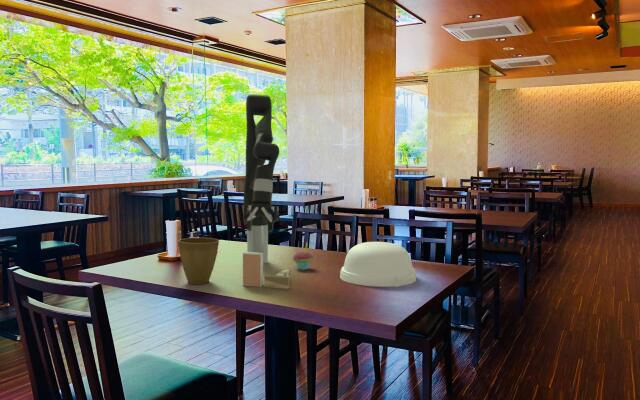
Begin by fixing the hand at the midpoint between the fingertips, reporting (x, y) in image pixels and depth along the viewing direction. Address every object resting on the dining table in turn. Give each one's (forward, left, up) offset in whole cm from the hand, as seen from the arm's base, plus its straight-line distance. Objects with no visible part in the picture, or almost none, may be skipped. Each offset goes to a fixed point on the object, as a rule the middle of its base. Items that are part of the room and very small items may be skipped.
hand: (259, 231), depth 208 cm
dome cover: (-8, +47, -18) cm, 51 cm away
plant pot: (+18, -17, -18) cm, 31 cm away
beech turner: (+12, +13, -18) cm, 25 cm away
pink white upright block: (+17, +4, -18) cm, 25 cm away
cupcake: (-17, +14, -18) cm, 28 cm away
